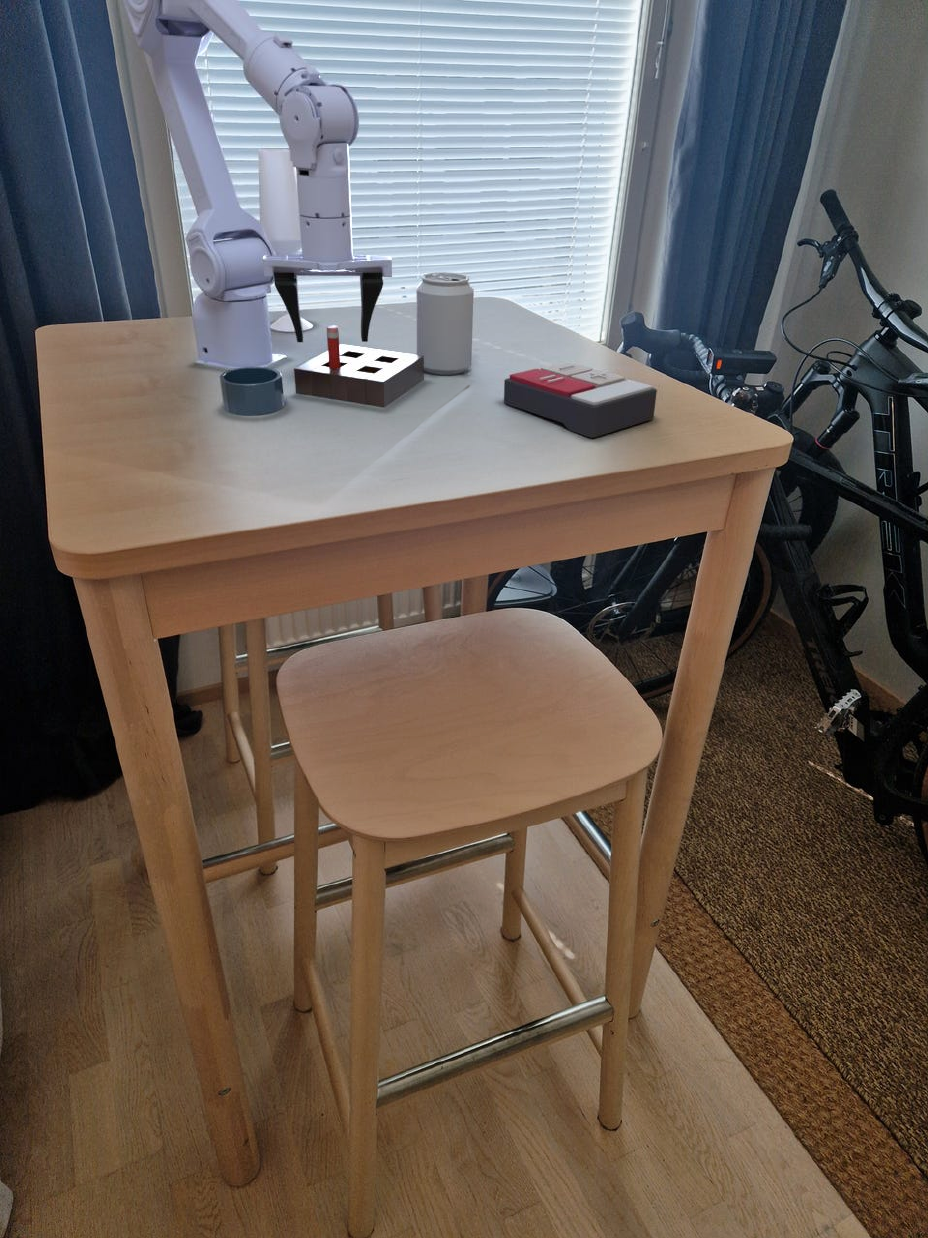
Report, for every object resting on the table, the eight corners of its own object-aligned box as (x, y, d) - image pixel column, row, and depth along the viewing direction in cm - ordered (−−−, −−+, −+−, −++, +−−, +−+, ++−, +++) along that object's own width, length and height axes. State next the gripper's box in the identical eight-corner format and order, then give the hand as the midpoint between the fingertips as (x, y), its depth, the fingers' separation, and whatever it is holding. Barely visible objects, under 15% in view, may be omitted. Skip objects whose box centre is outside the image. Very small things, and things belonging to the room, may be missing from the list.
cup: (212, 414, 92) (207, 379, 90) (246, 396, 98) (242, 363, 95) (263, 423, 90) (259, 388, 88) (295, 404, 96) (292, 371, 94)
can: (465, 378, 106) (468, 282, 99) (410, 373, 107) (409, 278, 100) (475, 363, 112) (479, 271, 105) (424, 358, 113) (424, 267, 107)
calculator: (566, 358, 102) (659, 382, 93) (564, 391, 105) (655, 418, 95) (502, 372, 97) (595, 400, 87) (502, 408, 99) (592, 438, 89)
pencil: (328, 393, 100) (324, 327, 95) (333, 390, 101) (329, 324, 96) (338, 395, 99) (334, 328, 95) (344, 391, 100) (340, 325, 96)
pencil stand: (296, 396, 98) (293, 368, 96) (342, 370, 108) (340, 343, 106) (384, 411, 95) (383, 381, 93) (424, 382, 104) (424, 355, 102)
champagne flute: (279, 319, 129) (262, 147, 116) (319, 322, 128) (306, 149, 115) (262, 329, 124) (243, 150, 110) (303, 333, 123) (289, 152, 109)
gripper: (256, 219, 84) (269, 349, 92) (393, 220, 87) (395, 348, 94) (259, 209, 90) (272, 333, 98) (388, 211, 92) (390, 332, 100)
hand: (332, 339), depth 96 cm, fingers open, 7 cm apart
